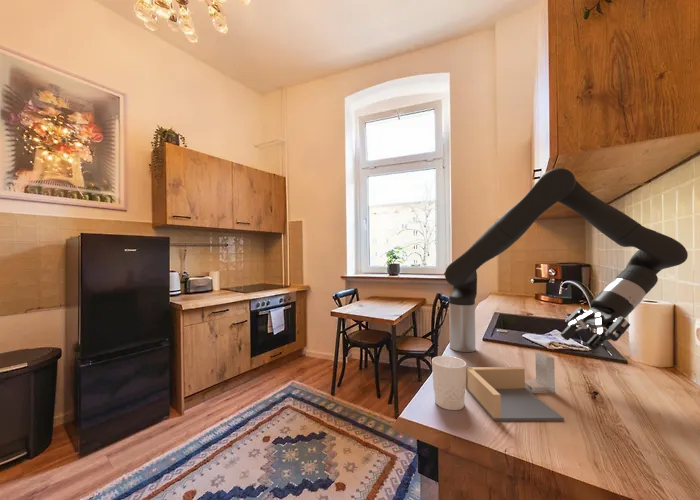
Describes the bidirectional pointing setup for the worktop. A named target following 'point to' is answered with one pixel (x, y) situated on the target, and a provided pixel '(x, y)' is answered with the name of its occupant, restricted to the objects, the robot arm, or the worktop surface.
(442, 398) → the white cup
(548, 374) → the bracket
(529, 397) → the corner tray
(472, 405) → the worktop surface
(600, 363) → the worktop surface
